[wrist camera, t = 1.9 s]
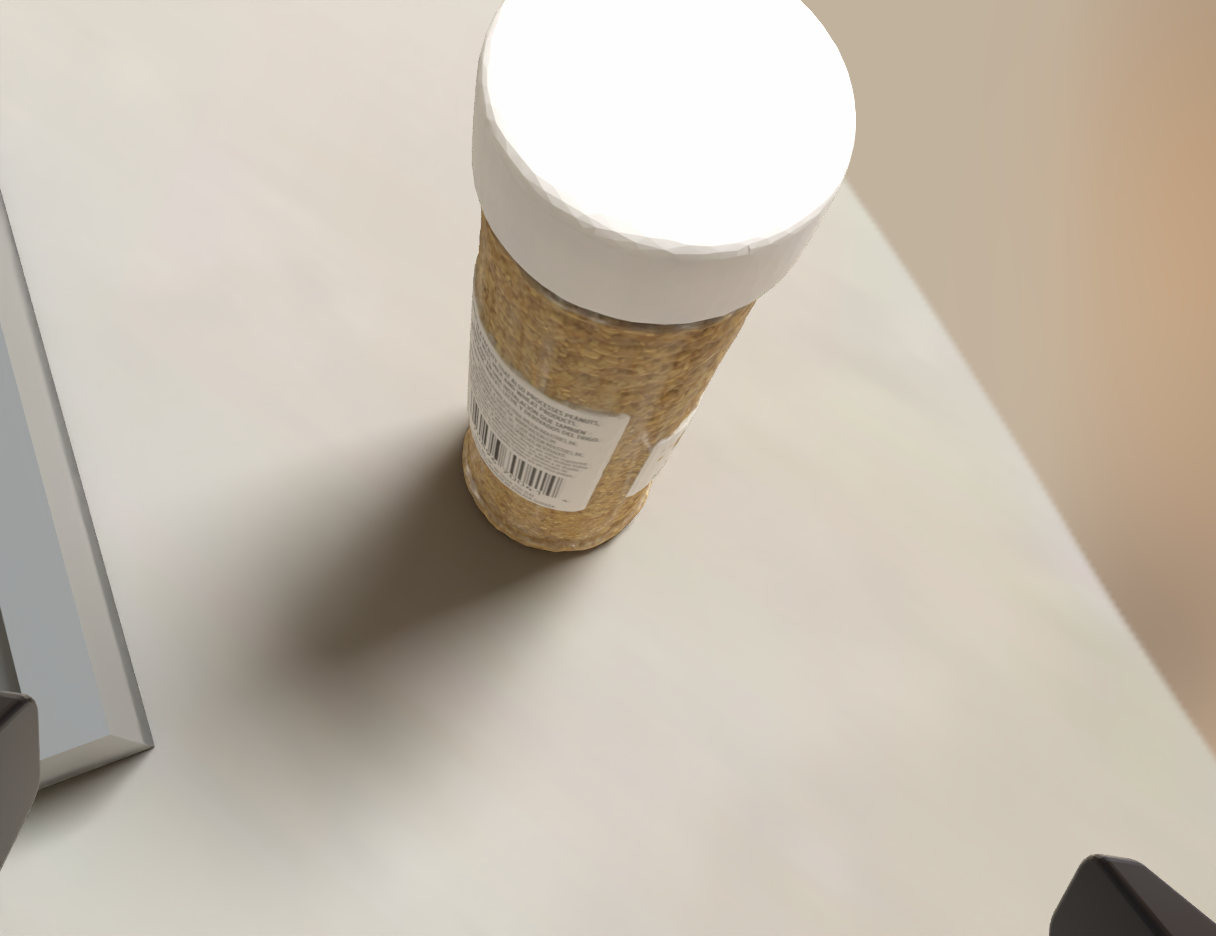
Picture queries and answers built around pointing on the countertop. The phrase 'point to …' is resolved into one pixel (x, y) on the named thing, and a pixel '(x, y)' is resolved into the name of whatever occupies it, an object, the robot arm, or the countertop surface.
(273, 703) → the countertop surface
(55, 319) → the countertop surface
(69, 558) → the box
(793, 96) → the sprinkles bottle
